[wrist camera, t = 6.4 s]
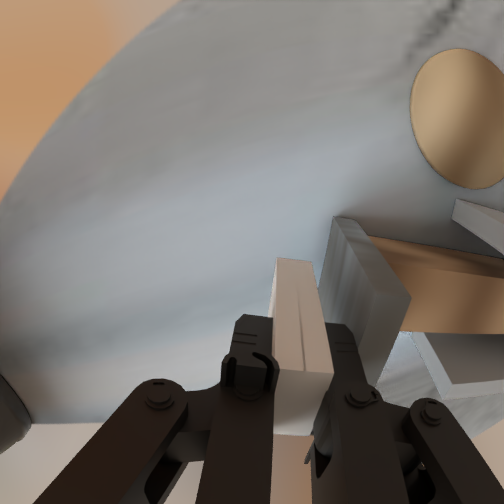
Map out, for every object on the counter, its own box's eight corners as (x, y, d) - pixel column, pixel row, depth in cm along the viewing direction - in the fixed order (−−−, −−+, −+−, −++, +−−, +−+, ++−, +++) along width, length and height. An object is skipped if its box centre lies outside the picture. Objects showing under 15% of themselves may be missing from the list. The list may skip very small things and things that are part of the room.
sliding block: (315, 300, 18) (333, 408, 11) (333, 216, 16) (376, 294, 9) (505, 316, 18) (561, 384, 10) (529, 253, 16) (601, 311, 8)
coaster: (399, 170, 15) (403, 171, 15) (414, 30, 12) (419, 28, 11) (504, 199, 15) (510, 202, 14) (520, 80, 12) (525, 79, 11)
